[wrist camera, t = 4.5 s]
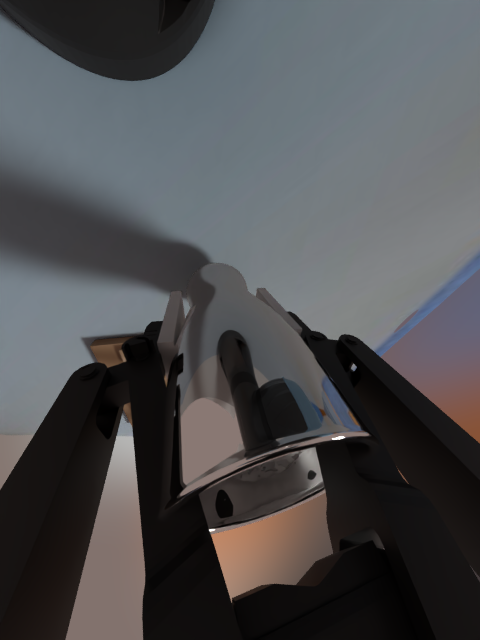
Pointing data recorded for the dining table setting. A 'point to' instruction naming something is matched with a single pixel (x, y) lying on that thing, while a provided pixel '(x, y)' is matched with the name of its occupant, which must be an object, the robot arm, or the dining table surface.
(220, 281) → the beer glass
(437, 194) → the dining table surface
